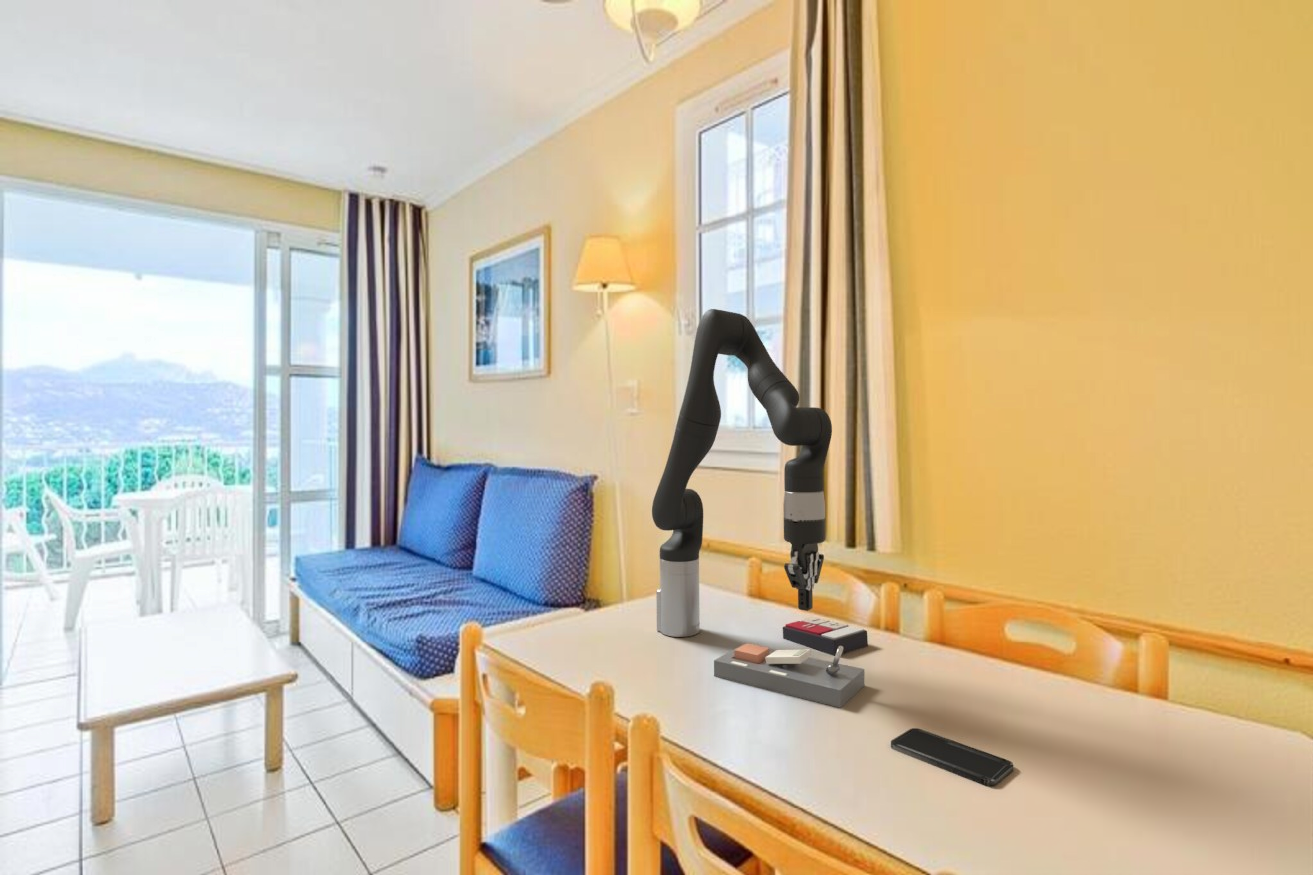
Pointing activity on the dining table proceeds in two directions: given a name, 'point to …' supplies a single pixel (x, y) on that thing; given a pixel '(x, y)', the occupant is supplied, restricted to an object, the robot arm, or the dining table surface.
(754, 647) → the push button
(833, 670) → the toggle lever
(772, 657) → the white slab
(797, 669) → the panel
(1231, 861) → the dining table surface
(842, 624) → the calculator
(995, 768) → the phone
